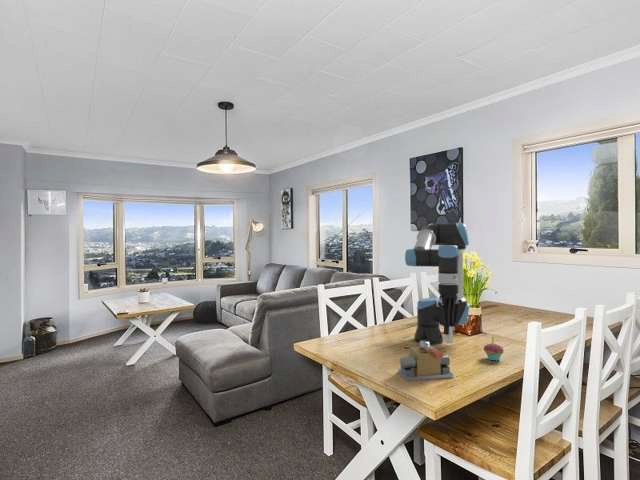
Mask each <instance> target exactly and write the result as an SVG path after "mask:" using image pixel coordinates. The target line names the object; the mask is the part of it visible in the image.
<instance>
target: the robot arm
mask: <svg viewBox="0 0 640 480" xmlns="http://www.w3.org/2000/svg"><path fill="white" fill-rule="evenodd" d="M469 243H470V242H469V237H468V230H467V225H466V223H463V222H445V223H444V222H441V223H439V222H438V223H436V222H435V223H432V224H429V225H426V226H425V227H423V228H422V229H420V230H419V231H418V233H417V234H416V242H415V243H414V247H413V248H411V249H410V248H409V249H406V250H405V253H404V261H405V265H406V266H408V267H414V268H415V267H436V268H438V270H437V271H438V273H437V274H438V276H437V277H438V278H437V279H438V281H437V282H438V286H437V287H438V288H437V289H438V293H439V297H427V298H420V299H419V300H418V301H417V303H416V304H417V305H416V309H417V310H416V312H417V313H416V314H417V317H416V319H417V322H416V323H417V327H416V328H415V332H414V339H413V340H414V341H415V342H416V343H419V344H420V341H429V342H430V345H431V346H432V345H440V344H442V343H448V344H453V343H454V342H453V337H454V335H453V334H454V327H456V325H466V324H467V323H468V318H469V310H470V309H469V308H470V302H467V298H466V297H464V258H463V257H464V255H463V254H464V251H466V248H467V246H469ZM432 246H438V247H437V249H435V248H434V249H433V248H432ZM440 325H441V326H443V334H444V337H443V334H442V331H441V328H440ZM443 341H444V342H443Z"/></svg>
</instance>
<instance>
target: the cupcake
mask: <svg viewBox="0 0 640 480" xmlns="http://www.w3.org/2000/svg"><path fill="white" fill-rule="evenodd" d="M494 341H495V340H494V335H491V343H488V344H485V345H484V346H483V352H485V353H486V356H487V359H488V360H489V361H491V360H494V361H493V362H498V361H497V360H499V361H500V359H501V357H502V354H504V353H505V352H504V349H503V346H500V345H499V344H497V343H495V342H494ZM495 360H496V361H495Z"/></svg>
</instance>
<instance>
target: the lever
mask: <svg viewBox="0 0 640 480" xmlns="http://www.w3.org/2000/svg"><path fill="white" fill-rule="evenodd" d="M419 347H420V350H423V351H427V352H429V354H430V355H431V356H433V357H434V358H435V359H443V355H444V352H442V351H441V350H440V349H438V348H436V347H434V346H432V345H430V342H429V341H420V343H419ZM433 347H434V348H433Z"/></svg>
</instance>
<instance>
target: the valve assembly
mask: <svg viewBox="0 0 640 480" xmlns="http://www.w3.org/2000/svg"><path fill="white" fill-rule="evenodd" d="M432 347H433V348H435V347H434V346H432ZM450 360H451V359H450V357H449V355H448V354H443V359H435V358H434V357H433V356H431V355H430V354H429V352H427V351H423V350H420V346H414V347H413V346H412V347H409V356H408V357H407V356H406V357H400V359H399V364H400V367H398V368H397V373H398V374H399V375H400V376H401V378H403V379H404V380H405V382H412V381H427V380H429V381H430V380H438V379H439V380H442V379H453V378H454V373H452V372H451V370H450V365H451V364H450V363H451V361H450Z"/></svg>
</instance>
